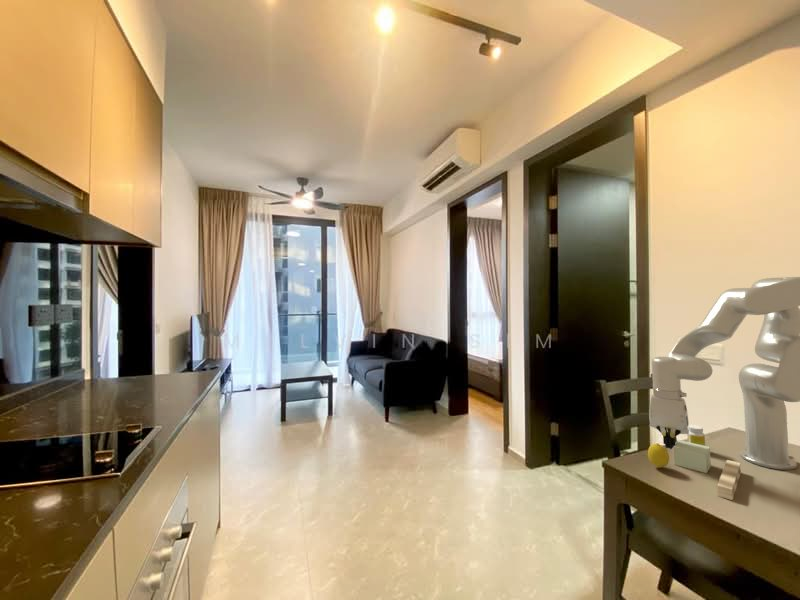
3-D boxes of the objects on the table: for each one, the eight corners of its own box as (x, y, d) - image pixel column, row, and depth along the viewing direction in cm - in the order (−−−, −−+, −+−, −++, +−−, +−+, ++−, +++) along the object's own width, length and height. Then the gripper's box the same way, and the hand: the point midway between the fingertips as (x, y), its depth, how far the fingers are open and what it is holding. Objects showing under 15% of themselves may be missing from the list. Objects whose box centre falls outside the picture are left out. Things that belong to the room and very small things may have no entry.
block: (679, 457, 117) (678, 440, 117) (710, 465, 111) (709, 446, 111) (674, 464, 113) (673, 446, 113) (706, 473, 107) (705, 454, 107)
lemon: (673, 470, 110) (672, 445, 110) (661, 473, 108) (660, 448, 108) (656, 462, 115) (655, 438, 115) (644, 465, 113) (643, 441, 113)
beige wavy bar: (727, 469, 108) (727, 459, 108) (740, 472, 106) (740, 463, 106) (717, 495, 95) (717, 485, 95) (732, 500, 93) (732, 489, 93)
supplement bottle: (709, 452, 119) (707, 428, 119) (695, 453, 119) (694, 429, 119) (697, 446, 124) (695, 423, 124) (684, 447, 124) (683, 424, 124)
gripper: (697, 395, 113) (700, 450, 113) (644, 387, 125) (646, 437, 125) (693, 400, 108) (695, 458, 108) (637, 392, 120) (640, 444, 120)
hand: (669, 447), depth 117 cm, fingers closed
